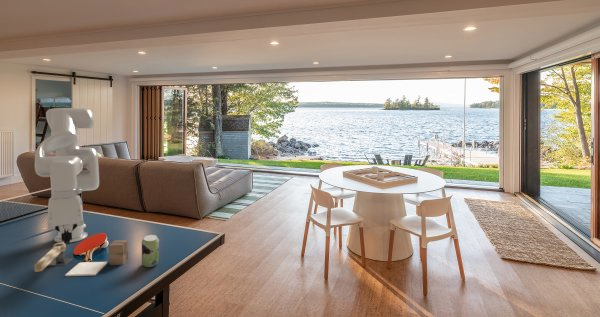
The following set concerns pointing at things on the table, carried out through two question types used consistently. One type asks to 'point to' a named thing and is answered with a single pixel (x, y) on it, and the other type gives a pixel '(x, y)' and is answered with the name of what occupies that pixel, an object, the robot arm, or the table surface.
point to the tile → (86, 269)
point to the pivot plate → (60, 262)
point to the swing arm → (51, 256)
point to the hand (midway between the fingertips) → (67, 242)
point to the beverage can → (150, 250)
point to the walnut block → (118, 252)
